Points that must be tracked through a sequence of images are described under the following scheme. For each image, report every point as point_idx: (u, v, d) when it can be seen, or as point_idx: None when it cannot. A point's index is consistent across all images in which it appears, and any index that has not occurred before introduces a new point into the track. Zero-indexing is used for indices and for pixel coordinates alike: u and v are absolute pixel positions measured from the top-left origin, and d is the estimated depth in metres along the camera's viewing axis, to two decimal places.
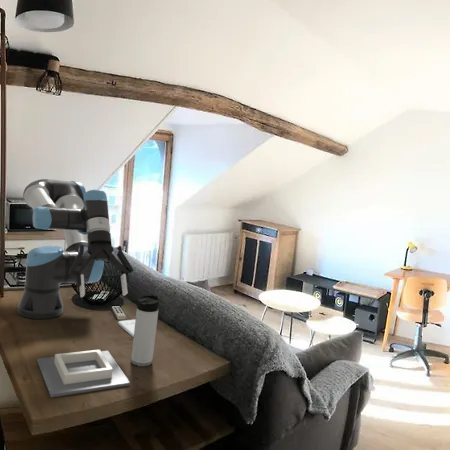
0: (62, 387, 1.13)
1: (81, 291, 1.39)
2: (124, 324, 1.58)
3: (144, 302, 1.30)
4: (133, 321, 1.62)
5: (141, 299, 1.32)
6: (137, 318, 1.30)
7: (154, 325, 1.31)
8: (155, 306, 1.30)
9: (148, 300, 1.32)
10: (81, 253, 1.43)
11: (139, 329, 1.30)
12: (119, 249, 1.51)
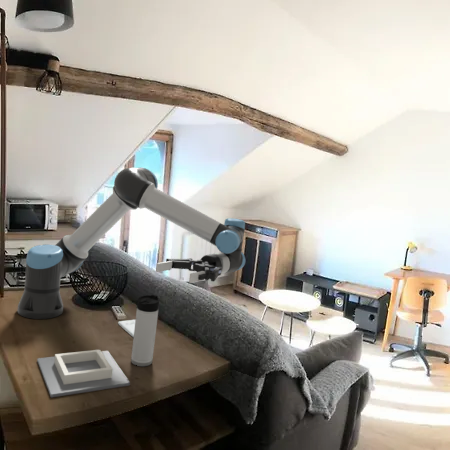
0: (62, 387, 1.13)
1: (193, 279, 1.36)
2: (124, 324, 1.58)
3: (144, 302, 1.30)
4: (134, 321, 1.62)
5: (141, 299, 1.32)
6: (137, 318, 1.30)
7: (154, 325, 1.31)
8: (155, 306, 1.30)
9: (148, 300, 1.32)
10: None
11: (139, 329, 1.30)
12: None
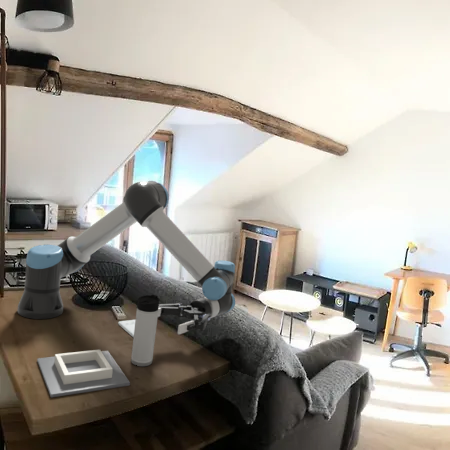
0: (62, 387, 1.13)
1: (182, 330, 1.35)
2: (124, 324, 1.58)
3: (144, 302, 1.30)
4: (134, 321, 1.62)
5: (141, 299, 1.32)
6: (137, 318, 1.30)
7: (154, 325, 1.31)
8: (155, 306, 1.30)
9: (148, 300, 1.32)
10: None
11: (139, 329, 1.30)
12: None
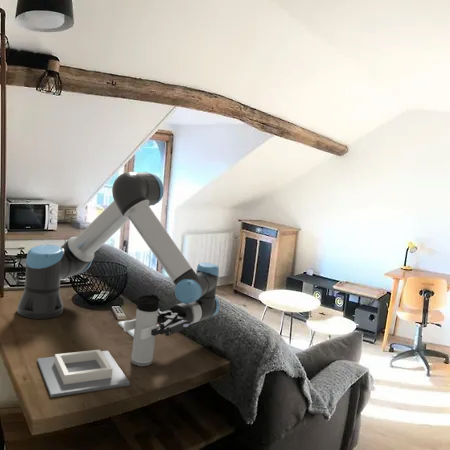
0: (62, 387, 1.13)
1: (146, 335, 1.28)
2: None
3: (144, 302, 1.30)
4: None
5: (141, 299, 1.32)
6: (137, 318, 1.30)
7: None
8: (155, 306, 1.30)
9: (148, 300, 1.32)
10: None
11: (139, 329, 1.30)
12: None
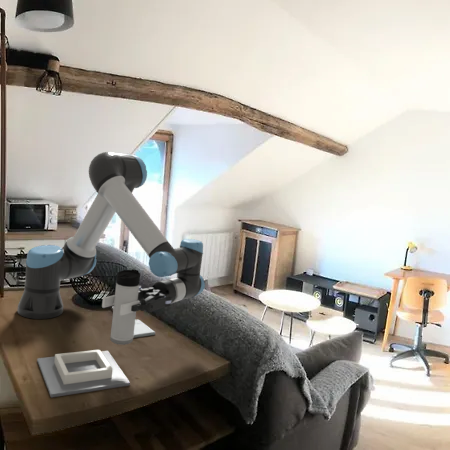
0: (62, 387, 1.13)
1: (125, 311, 1.21)
2: None
3: (124, 276, 1.23)
4: None
5: (121, 273, 1.25)
6: (116, 293, 1.23)
7: None
8: (135, 280, 1.23)
9: (128, 275, 1.24)
10: None
11: (119, 305, 1.23)
12: None
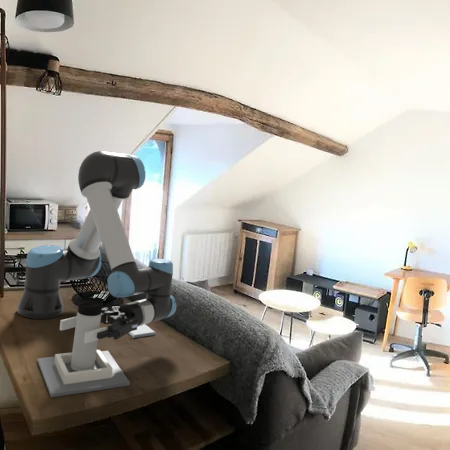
0: (62, 387, 1.13)
1: (90, 338, 1.16)
2: None
3: (85, 305, 1.19)
4: None
5: (83, 301, 1.21)
6: (77, 322, 1.19)
7: None
8: (97, 310, 1.19)
9: (90, 303, 1.20)
10: None
11: (79, 334, 1.19)
12: None
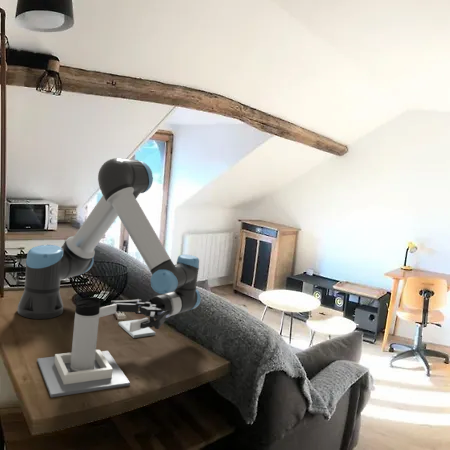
0: (62, 387, 1.13)
1: (135, 327, 1.27)
2: (124, 325, 1.58)
3: (83, 305, 1.19)
4: None
5: (80, 302, 1.21)
6: (75, 323, 1.19)
7: (94, 330, 1.20)
8: (94, 309, 1.19)
9: (87, 303, 1.20)
10: None
11: (77, 335, 1.19)
12: None
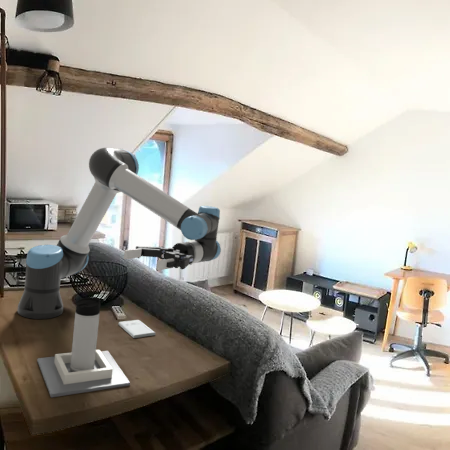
0: (62, 387, 1.13)
1: (161, 266, 1.30)
2: (124, 325, 1.58)
3: (83, 305, 1.19)
4: (134, 322, 1.62)
5: (80, 302, 1.21)
6: (75, 323, 1.19)
7: (94, 330, 1.20)
8: (95, 309, 1.19)
9: (87, 303, 1.20)
10: None
11: (77, 335, 1.19)
12: None
